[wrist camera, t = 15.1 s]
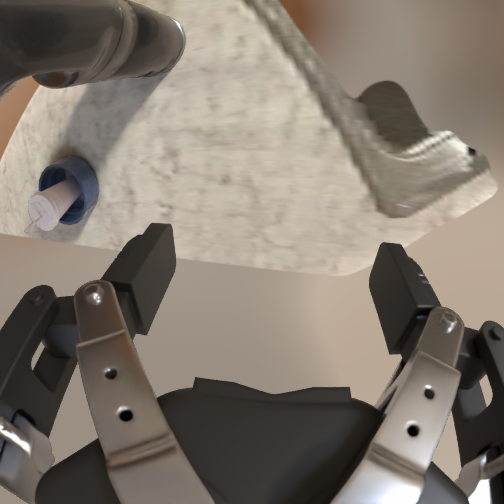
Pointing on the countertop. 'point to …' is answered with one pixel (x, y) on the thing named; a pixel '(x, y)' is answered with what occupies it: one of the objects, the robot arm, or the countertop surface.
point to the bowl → (86, 179)
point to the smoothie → (52, 204)
